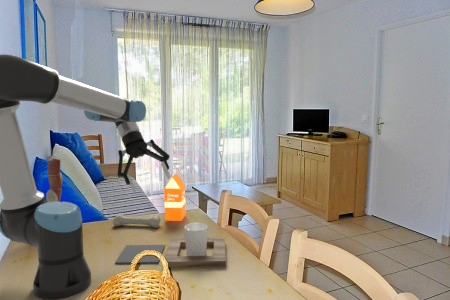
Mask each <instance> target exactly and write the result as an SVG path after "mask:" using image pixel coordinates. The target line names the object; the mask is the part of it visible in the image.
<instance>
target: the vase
mask: <svg viewBox="0 0 450 300" xmlns="http://www.w3.org/2000/svg"><path fill="white" fill-rule="evenodd" d="M47 177H48V184H49V190H47V192H46V194H45V200H46V203H48V202H57V201H58V202H61V197H62V190H63V186H62V184H63V181H64V177H63V175H62V172H61V159H60V158H59V159H57V158H48V160H47Z"/></svg>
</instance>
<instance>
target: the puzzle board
mask: <svg viewBox="0 0 450 300" xmlns="http://www.w3.org/2000/svg"><path fill="white" fill-rule="evenodd" d="M225 238H226V237H224V236H223V237H222V236H221V237H219V236H217V237H212V236H210V237H208V236H207V247H206V248H213V255H205V256H187V255H180V253H181V248H186V242H185V237H171V238H170V240H169V242H168V243H169V244H168V246H167V249H166V251H165V254H164V257H165V258H166V259H167V261H168V263H169V267H170V268H172V269H173V268H175V269H176V268H226V267H227V257H226V255H227V253H226V239H225ZM170 268H169V269H170Z"/></svg>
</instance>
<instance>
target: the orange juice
mask: <svg viewBox="0 0 450 300" xmlns="http://www.w3.org/2000/svg"><path fill="white" fill-rule="evenodd" d="M163 191H164V194H163V195H164V220H165V221H173V222H176V221H177V222H178V221H179V222H182V221H183V220H184V218H185V217H186V215H187V213H186V211H187V210H186V184H185V183H184V181H183V180H182V179H181V177H180V176H179V174H178V173H177V172H176V173H175V174H174V175H173V176H171V177H170V179H169V181H168V182H167V184H166V185H165V187H164V188H163Z"/></svg>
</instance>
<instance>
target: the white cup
mask: <svg viewBox="0 0 450 300" xmlns="http://www.w3.org/2000/svg"><path fill="white" fill-rule="evenodd" d="M183 228H184V238H185V242H186V247H185V248H186V249H185V251H186V256H207V248H208V247H207V237H208V225H207V224H206V223H203V222H190V223H188V224H185V225H184V227H183Z"/></svg>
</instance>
